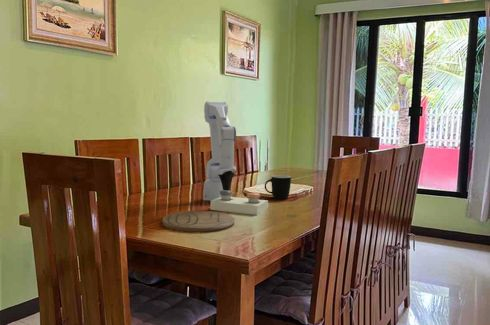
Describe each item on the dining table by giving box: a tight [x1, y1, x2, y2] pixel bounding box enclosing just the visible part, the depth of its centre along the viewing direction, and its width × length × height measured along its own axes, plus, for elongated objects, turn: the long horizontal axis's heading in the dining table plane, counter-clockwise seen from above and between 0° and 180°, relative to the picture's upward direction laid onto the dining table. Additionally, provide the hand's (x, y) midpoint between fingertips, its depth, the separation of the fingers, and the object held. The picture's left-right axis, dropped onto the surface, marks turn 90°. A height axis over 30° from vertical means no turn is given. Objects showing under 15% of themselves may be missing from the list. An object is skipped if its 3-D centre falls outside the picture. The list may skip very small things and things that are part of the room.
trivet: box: [161, 210, 235, 234], centre depth 155 cm, size 25×25×2 cm
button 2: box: [246, 192, 261, 204], centre depth 175 cm, size 5×5×4 cm
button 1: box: [220, 189, 233, 201], centre depth 180 cm, size 5×5×4 cm
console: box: [210, 196, 269, 216], centre depth 178 cm, size 20×12×4 cm, turn 68°
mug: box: [264, 174, 292, 200], centre depth 204 cm, size 12×9×10 cm
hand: (226, 190), depth 180 cm, fingers closed
